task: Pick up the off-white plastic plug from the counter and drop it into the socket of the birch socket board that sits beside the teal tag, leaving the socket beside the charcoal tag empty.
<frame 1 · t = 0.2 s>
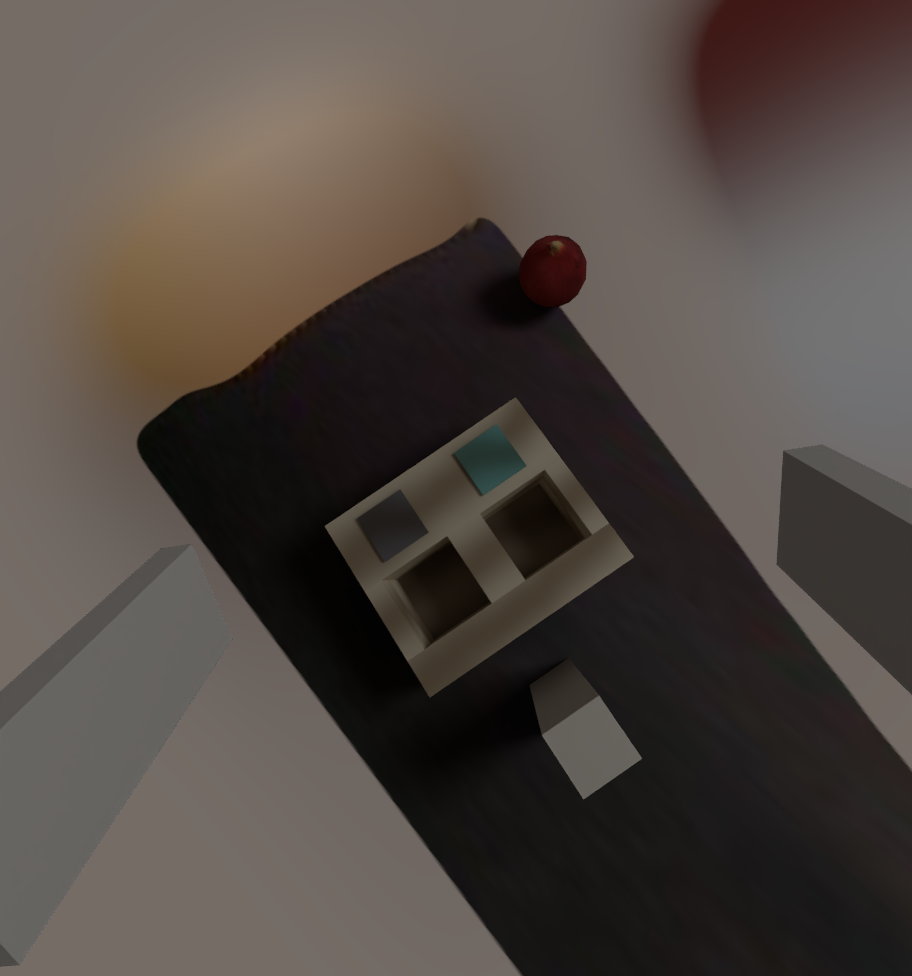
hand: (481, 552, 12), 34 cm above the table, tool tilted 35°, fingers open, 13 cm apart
onion: (548, 295, 49), on the table
plug: (562, 692, 43), on the table
socket board: (478, 546, 46), on the table
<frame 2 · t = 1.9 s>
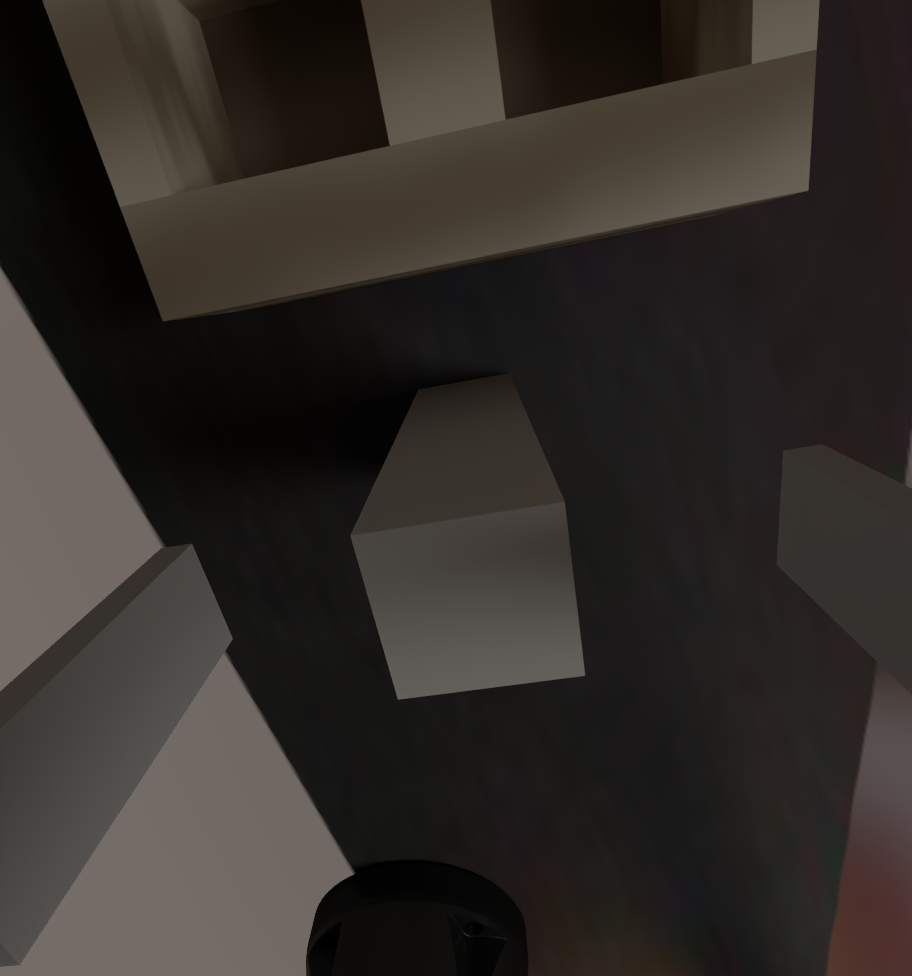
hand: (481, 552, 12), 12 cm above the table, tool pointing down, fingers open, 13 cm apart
plug: (471, 425, 23), on the table
socket board: (430, 36, 18), on the table
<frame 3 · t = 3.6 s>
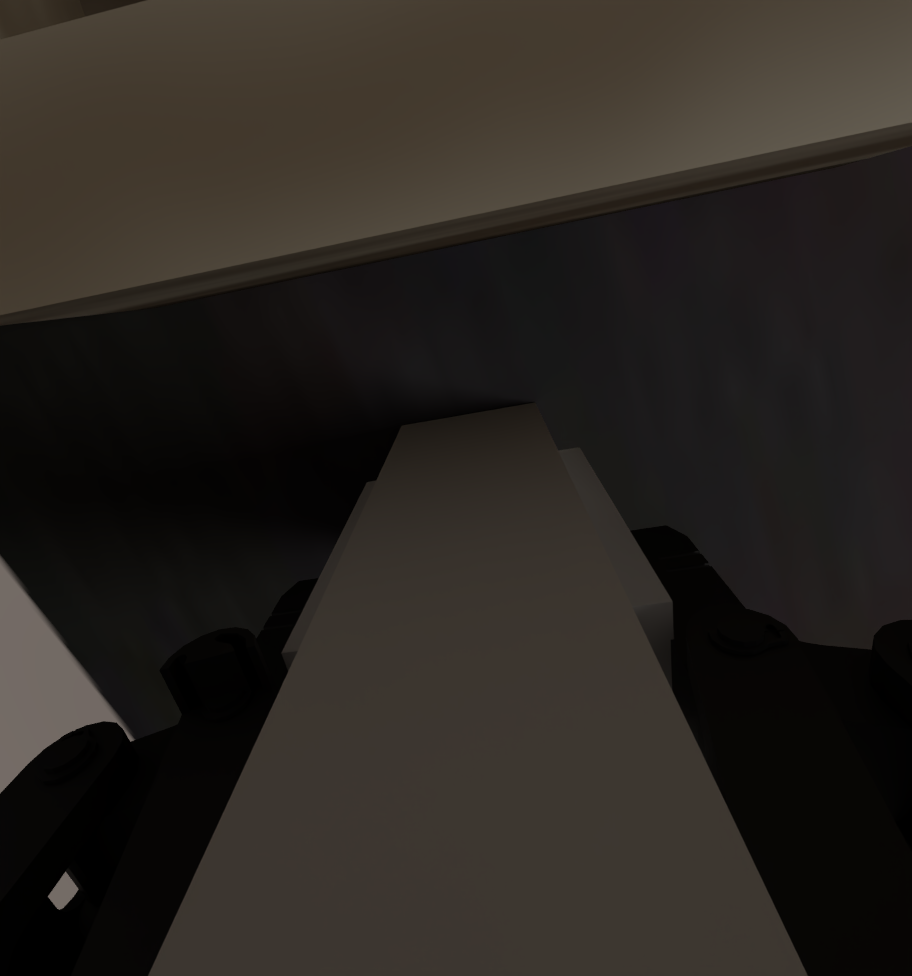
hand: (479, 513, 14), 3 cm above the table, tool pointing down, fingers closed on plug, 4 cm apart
plug: (478, 476, 16), on the table, touching gripper
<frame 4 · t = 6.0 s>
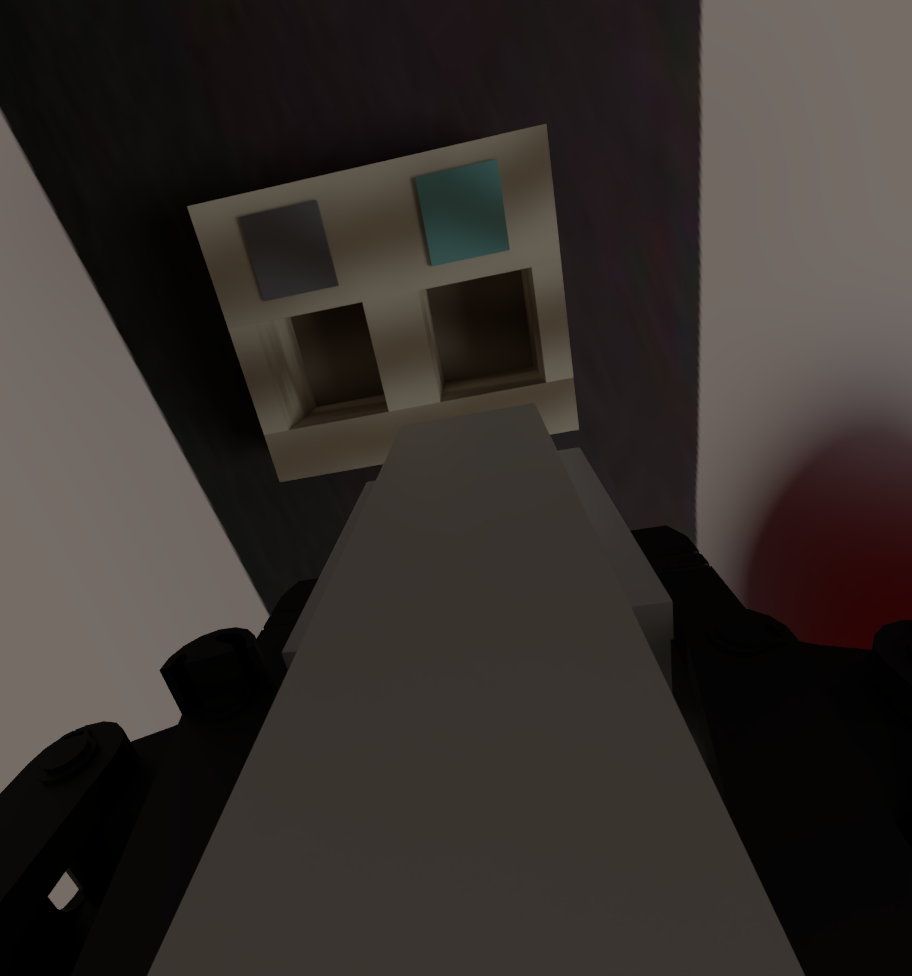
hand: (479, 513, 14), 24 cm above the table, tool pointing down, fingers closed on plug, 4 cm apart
plug: (478, 476, 16), point 21 cm above the table, touching gripper
socket board: (409, 317, 34), on the table
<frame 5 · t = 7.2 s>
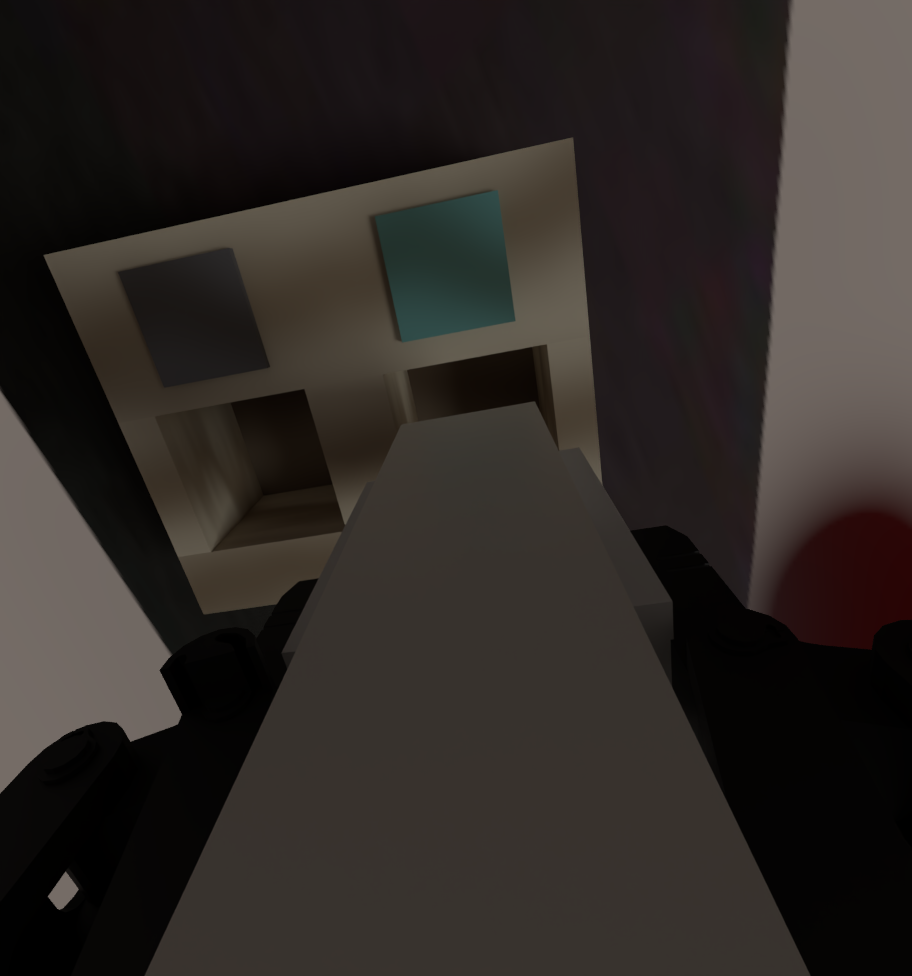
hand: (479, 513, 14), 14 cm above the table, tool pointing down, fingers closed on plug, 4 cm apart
plug: (478, 475, 16), point 11 cm above the table, touching gripper
socket board: (383, 383, 26), on the table
when the fingers open (9 cm above the table, at t = 8.4 s): plug drops 5 cm, resting on socket board.
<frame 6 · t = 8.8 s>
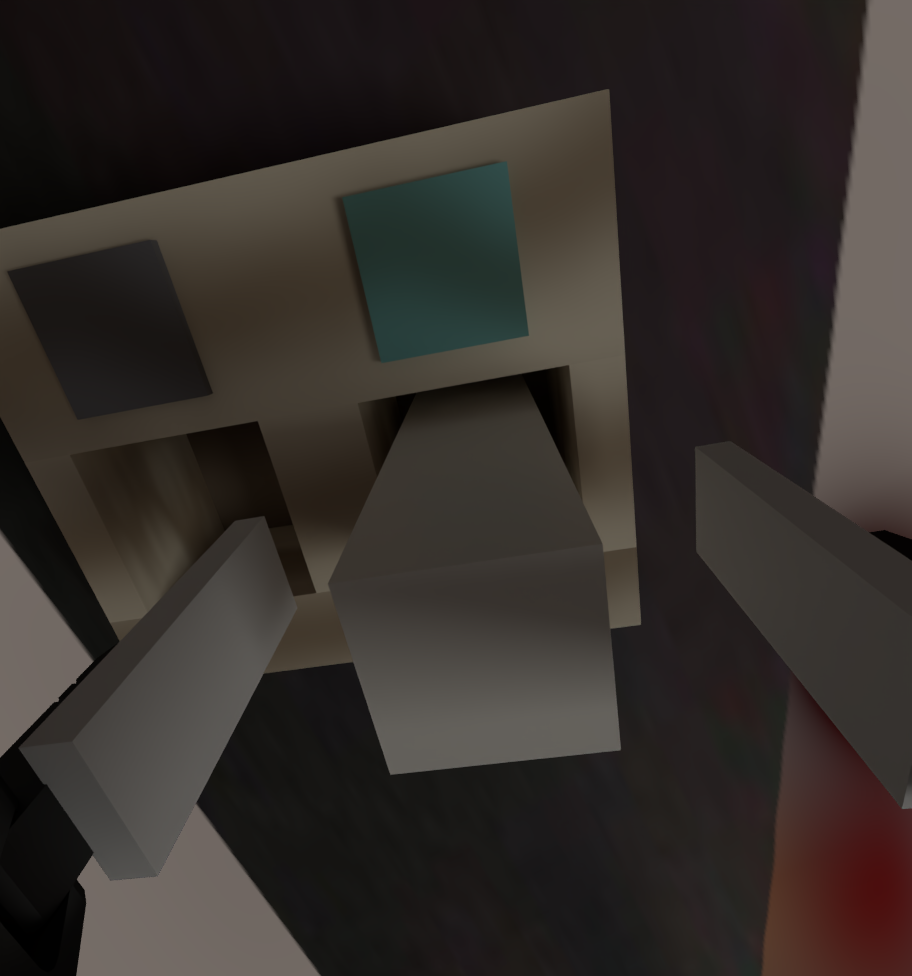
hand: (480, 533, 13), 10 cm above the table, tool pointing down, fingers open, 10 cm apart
plug: (477, 426, 21), point 1 cm above the table, touching socket board
socket board: (366, 404, 22), on the table
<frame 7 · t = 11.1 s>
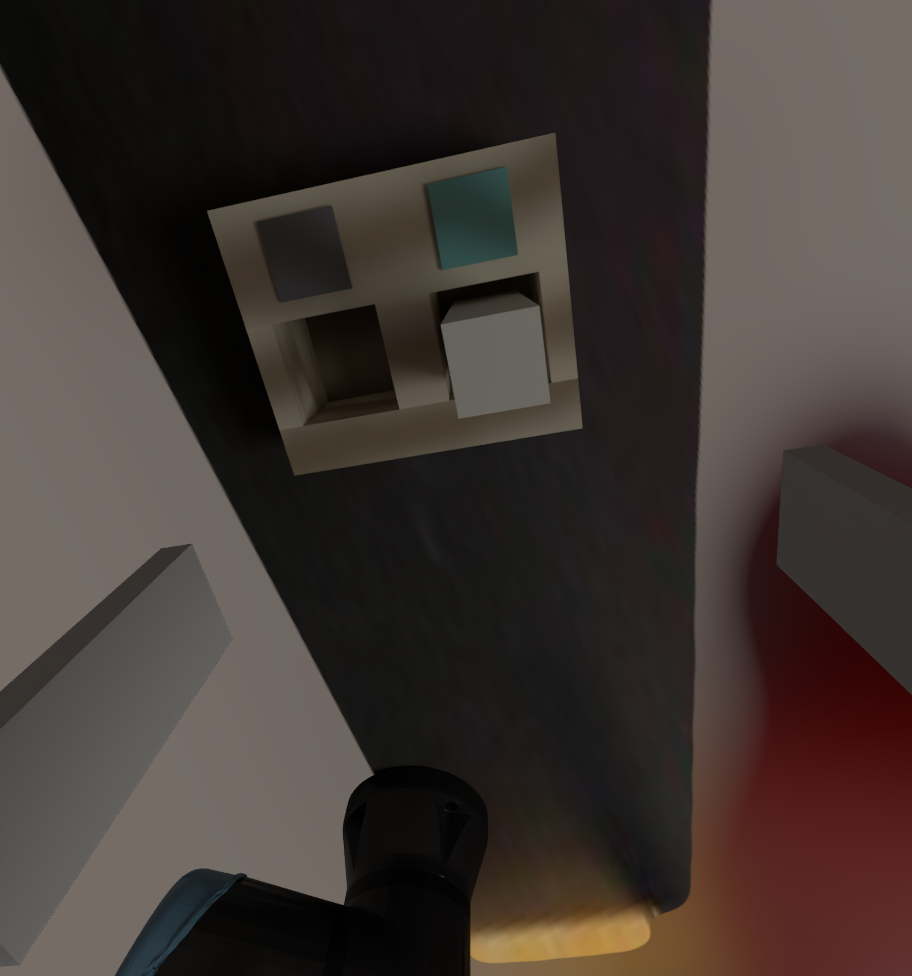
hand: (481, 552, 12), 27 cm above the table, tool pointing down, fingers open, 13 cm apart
plug: (489, 327, 34), point 1 cm above the table, touching socket board
socket board: (419, 315, 35), on the table
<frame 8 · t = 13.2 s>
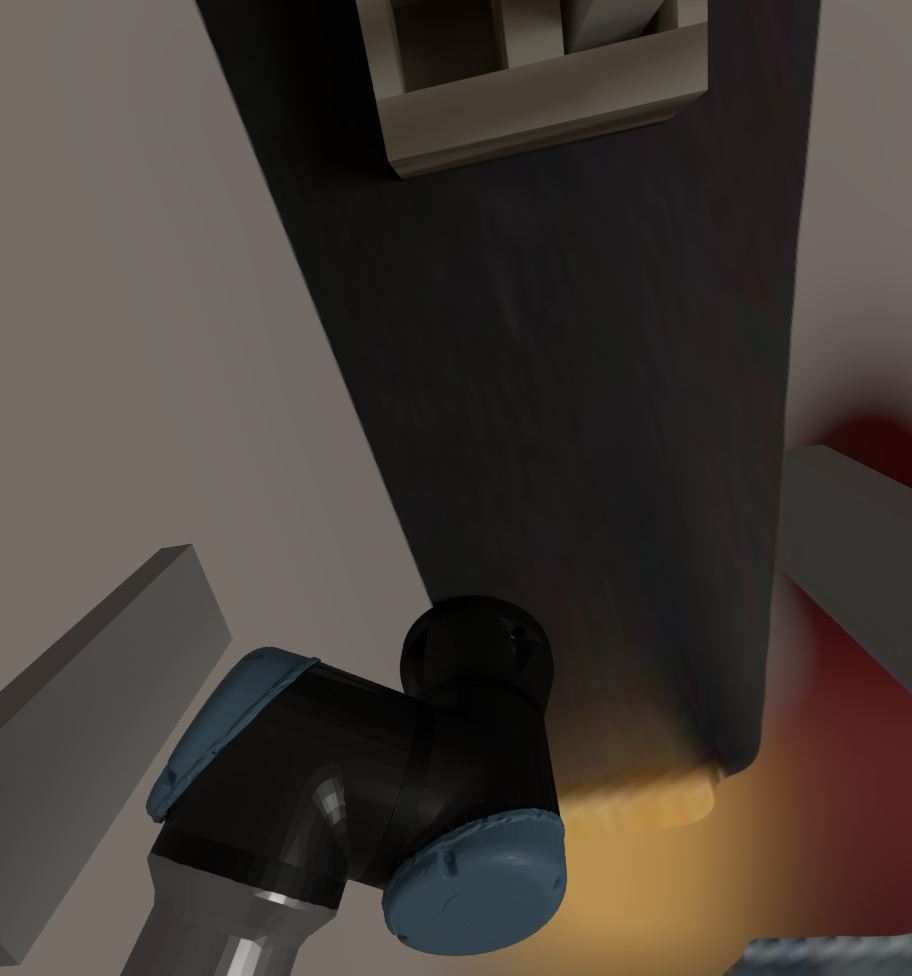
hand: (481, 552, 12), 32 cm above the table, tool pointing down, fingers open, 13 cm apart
plug: (591, 21, 32), point 1 cm above the table, touching socket board
socket board: (515, 16, 33), on the table
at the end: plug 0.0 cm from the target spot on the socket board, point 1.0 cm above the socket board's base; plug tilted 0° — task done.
